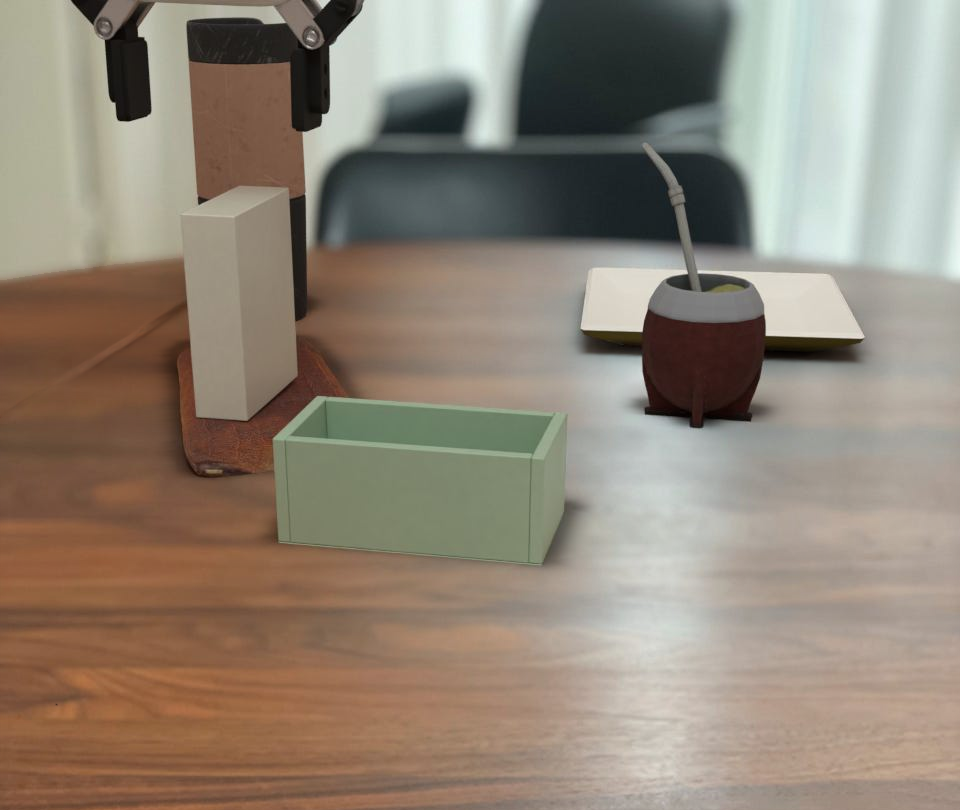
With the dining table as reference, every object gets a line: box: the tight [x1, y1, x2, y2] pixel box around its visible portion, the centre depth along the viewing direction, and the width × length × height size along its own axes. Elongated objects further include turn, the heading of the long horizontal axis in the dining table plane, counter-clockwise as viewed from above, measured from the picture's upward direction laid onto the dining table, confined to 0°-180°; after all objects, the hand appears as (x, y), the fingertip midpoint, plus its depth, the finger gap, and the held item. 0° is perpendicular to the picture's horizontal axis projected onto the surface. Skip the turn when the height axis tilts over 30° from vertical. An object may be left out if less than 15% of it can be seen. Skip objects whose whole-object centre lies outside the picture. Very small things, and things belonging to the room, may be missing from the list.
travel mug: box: [185, 16, 308, 321], centre depth 106 cm, size 8×8×20 cm
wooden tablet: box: [176, 337, 349, 478], centre depth 89 cm, size 27×10×2 cm, turn 12°
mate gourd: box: [641, 141, 766, 429], centre depth 85 cm, size 8×8×15 cm
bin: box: [273, 396, 568, 566], centre depth 70 cm, size 12×7×6 cm, turn 78°
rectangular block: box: [179, 186, 298, 421], centre depth 84 cm, size 9×3×11 cm, turn 168°
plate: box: [580, 267, 866, 353], centre depth 107 cm, size 19×19×2 cm
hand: (220, 123), depth 79 cm, fingers open, 9 cm apart
